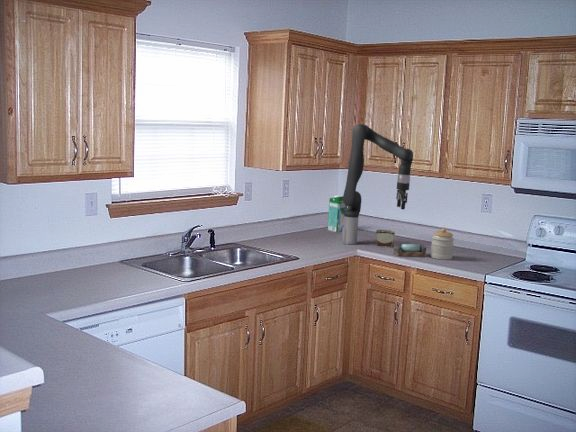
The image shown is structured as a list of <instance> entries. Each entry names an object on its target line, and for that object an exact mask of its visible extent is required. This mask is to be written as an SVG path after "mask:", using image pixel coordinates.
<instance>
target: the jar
mask: <svg viewBox="0 0 576 432" xmlns="http://www.w3.org/2000/svg"><path fill="white" fill-rule="evenodd" d="M453 236H454V234H453V233H451V232H450V231H448V230H447V229H446V228H444V227H443V228H442V229H441V230H437V231H435V232H434V233H433V236H431V239H432V241H431V242H430V243H431V247H430V248H431V249H430V257H431V258H433V259H436V260H441V261H442V260H443V261H445V260H446V261H447V260H448V261H449V260H452V259H453V256H454V241H455V238H454V237H453Z"/></svg>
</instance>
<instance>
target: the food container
mask: <svg viewBox="0 0 576 432" xmlns="http://www.w3.org/2000/svg"><path fill="white" fill-rule="evenodd" d="M374 234H375V235H376V236H375V237H376V246H377V247H379V246H384V248H392V247H393V245H394V244H393V242H394V237H395V236H396V233H395V231H394V230H391V229H376V231H375V233H374ZM385 246H386V247H385Z"/></svg>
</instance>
